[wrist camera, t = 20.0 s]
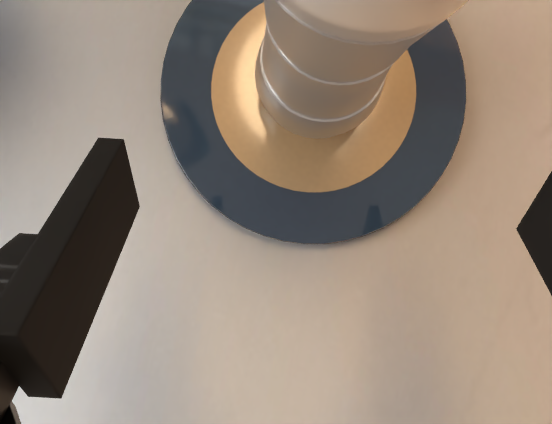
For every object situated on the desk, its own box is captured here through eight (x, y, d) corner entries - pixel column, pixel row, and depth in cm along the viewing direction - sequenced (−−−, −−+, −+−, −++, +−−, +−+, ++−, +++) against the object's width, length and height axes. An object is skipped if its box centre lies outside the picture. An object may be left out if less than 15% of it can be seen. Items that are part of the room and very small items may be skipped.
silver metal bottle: (282, 19, 25) (319, -848, 5) (388, 63, 25) (877, -621, 5) (239, 119, 25) (90, -344, 5) (346, 164, 24) (670, -105, 5)
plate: (105, 83, 26) (96, 75, 25) (324, -105, 26) (326, -122, 25) (299, 304, 26) (300, 309, 24) (518, 110, 26) (530, 104, 25)
